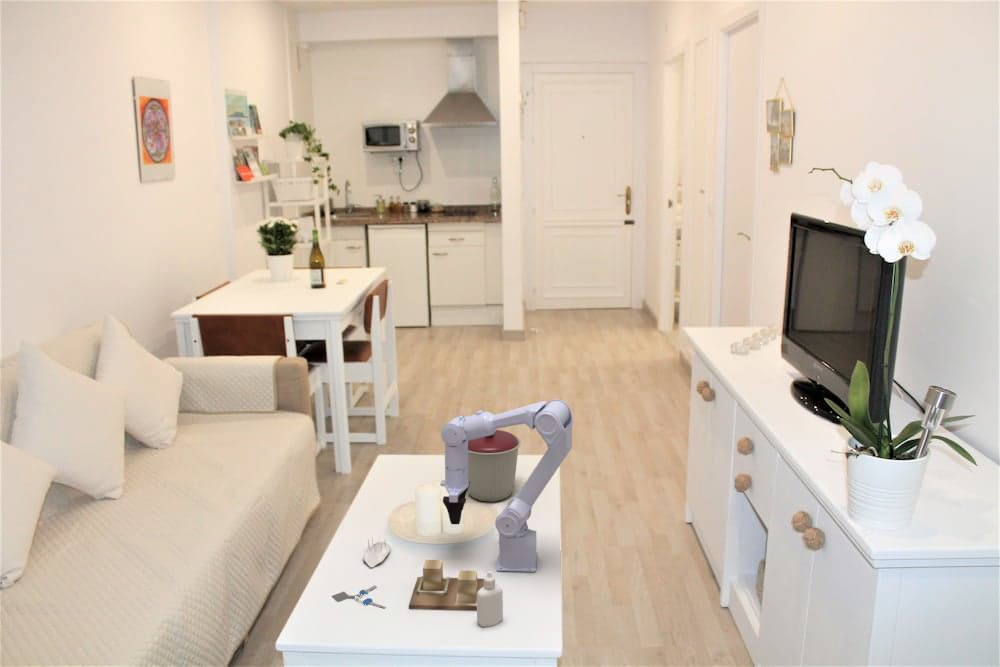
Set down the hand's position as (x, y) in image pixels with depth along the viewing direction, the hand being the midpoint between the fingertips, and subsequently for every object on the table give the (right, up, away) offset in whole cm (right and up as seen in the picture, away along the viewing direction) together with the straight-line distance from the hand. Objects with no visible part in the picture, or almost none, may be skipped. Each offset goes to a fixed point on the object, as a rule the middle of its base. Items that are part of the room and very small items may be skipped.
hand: (457, 516), depth 208 cm
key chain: (-21, -15, -15) cm, 30 cm away
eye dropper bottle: (+9, -17, -26) cm, 33 cm away
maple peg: (-5, -13, -15) cm, 20 cm away
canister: (+8, -2, +37) cm, 38 cm away
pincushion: (-20, -11, +2) cm, 23 cm away
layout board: (-1, -15, -16) cm, 22 cm away
